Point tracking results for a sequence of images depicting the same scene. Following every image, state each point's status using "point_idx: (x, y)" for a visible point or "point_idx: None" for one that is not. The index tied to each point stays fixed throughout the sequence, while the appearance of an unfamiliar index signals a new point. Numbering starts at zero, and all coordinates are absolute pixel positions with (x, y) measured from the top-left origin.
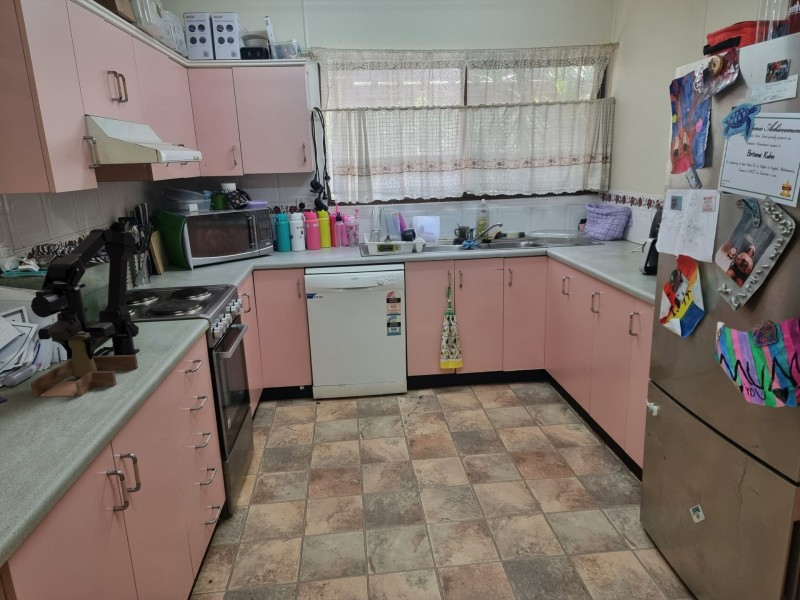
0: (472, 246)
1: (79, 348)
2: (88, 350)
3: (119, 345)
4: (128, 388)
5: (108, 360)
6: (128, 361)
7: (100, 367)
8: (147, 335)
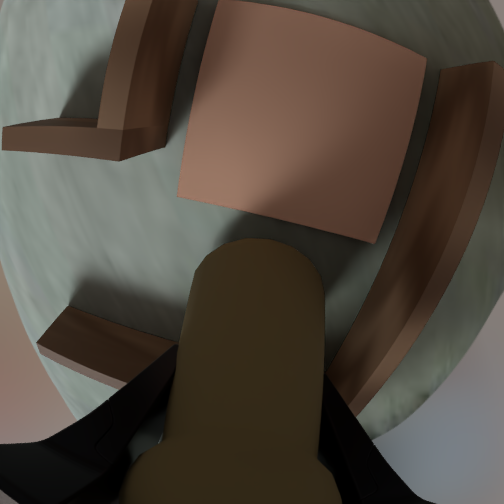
0: None
1: (197, 441)
2: (129, 400)
3: None
4: (12, 90)
5: None
6: (73, 337)
7: None
8: None
